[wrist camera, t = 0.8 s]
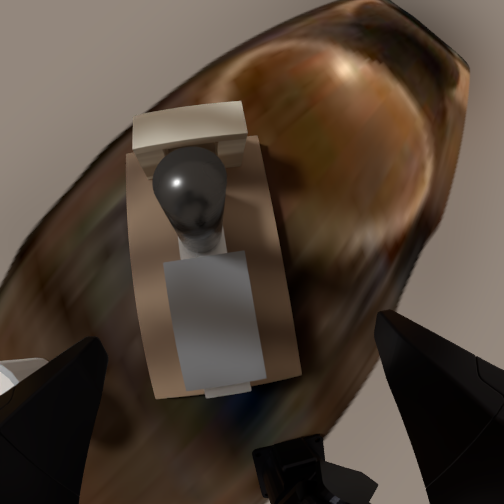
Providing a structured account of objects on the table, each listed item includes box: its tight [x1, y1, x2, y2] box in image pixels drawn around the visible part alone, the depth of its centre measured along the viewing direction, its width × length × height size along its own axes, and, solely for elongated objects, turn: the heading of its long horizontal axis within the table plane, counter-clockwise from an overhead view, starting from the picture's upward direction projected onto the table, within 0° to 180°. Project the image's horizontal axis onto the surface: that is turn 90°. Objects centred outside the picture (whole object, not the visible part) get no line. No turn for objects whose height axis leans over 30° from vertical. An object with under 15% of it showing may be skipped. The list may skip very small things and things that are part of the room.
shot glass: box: [0, 358, 49, 395], centre depth 16 cm, size 7×7×7 cm
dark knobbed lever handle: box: [152, 147, 251, 398], centre depth 15 cm, size 15×3×11 cm, turn 10°
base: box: [126, 101, 302, 399], centre depth 20 cm, size 21×12×6 cm, turn 10°
